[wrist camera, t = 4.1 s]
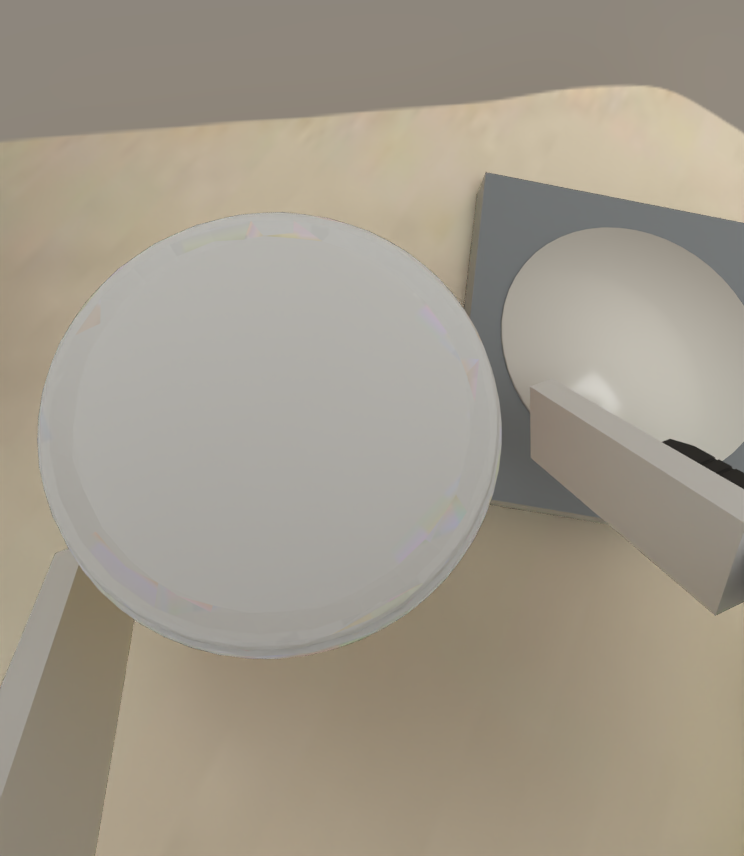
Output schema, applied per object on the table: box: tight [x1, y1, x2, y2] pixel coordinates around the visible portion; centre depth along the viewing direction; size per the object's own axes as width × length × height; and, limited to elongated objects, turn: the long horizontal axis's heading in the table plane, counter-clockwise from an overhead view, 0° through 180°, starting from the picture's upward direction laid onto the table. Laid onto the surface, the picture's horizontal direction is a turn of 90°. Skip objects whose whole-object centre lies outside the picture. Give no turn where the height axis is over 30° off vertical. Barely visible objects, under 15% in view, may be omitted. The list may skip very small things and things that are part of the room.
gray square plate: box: [464, 172, 744, 525], centre depth 22 cm, size 16×17×2 cm
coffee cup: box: [37, 212, 502, 659], centre depth 14 cm, size 9×9×12 cm
